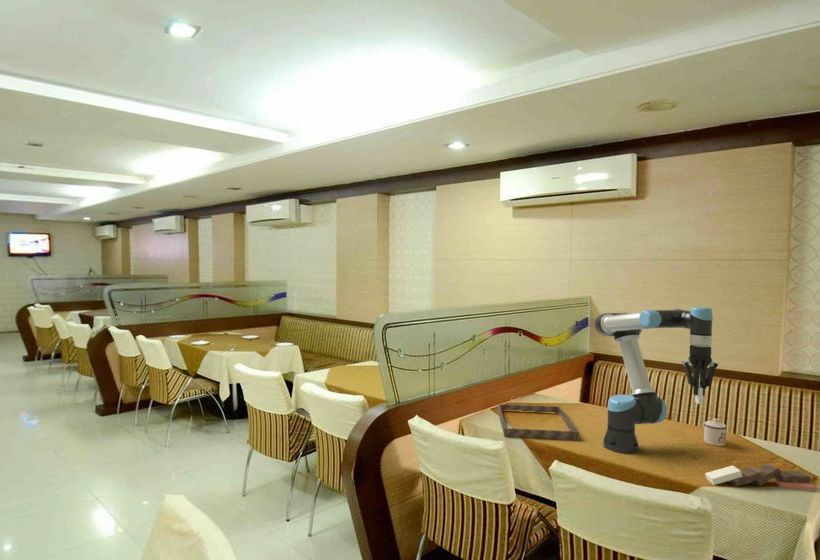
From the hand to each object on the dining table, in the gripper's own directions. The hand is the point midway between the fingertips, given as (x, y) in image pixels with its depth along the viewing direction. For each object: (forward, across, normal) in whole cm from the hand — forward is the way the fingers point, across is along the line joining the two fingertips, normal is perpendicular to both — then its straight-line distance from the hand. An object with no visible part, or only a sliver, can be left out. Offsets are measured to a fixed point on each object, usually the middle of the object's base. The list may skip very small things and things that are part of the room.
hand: (698, 403), depth 191 cm
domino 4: (+25, +26, -7) cm, 37 cm away
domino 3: (+27, +16, -8) cm, 33 cm away
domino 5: (+28, +26, -7) cm, 39 cm away
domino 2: (+27, +8, -9) cm, 30 cm away
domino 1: (+27, +1, -9) cm, 29 cm away
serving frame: (+28, -57, +51) cm, 82 cm away
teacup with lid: (+29, +26, +37) cm, 54 cm away
